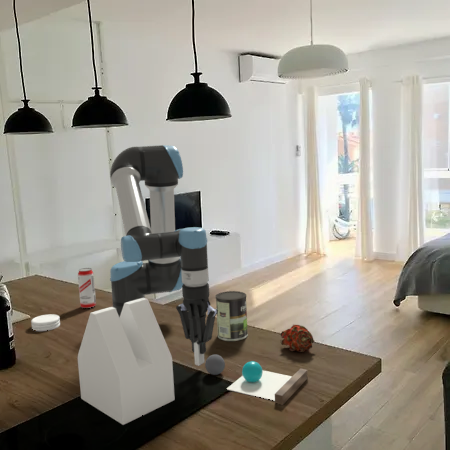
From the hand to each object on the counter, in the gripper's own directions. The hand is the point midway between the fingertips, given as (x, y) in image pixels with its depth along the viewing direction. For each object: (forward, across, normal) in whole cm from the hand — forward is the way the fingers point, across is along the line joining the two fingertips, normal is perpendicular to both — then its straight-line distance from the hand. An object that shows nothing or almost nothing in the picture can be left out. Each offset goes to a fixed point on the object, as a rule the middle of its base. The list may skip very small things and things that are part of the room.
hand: (199, 363), depth 144 cm
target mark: (+2, +20, 0) cm, 20 cm away
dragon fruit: (+2, +19, +25) cm, 31 cm away
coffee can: (+2, -5, +27) cm, 28 cm away
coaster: (+2, -73, +6) cm, 73 cm away
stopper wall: (+2, +28, 0) cm, 29 cm away
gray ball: (-1, +6, 0) cm, 6 cm away
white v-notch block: (+2, -7, -23) cm, 24 cm away
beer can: (+2, -76, +30) cm, 82 cm away
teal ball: (-1, +17, 0) cm, 17 cm away
